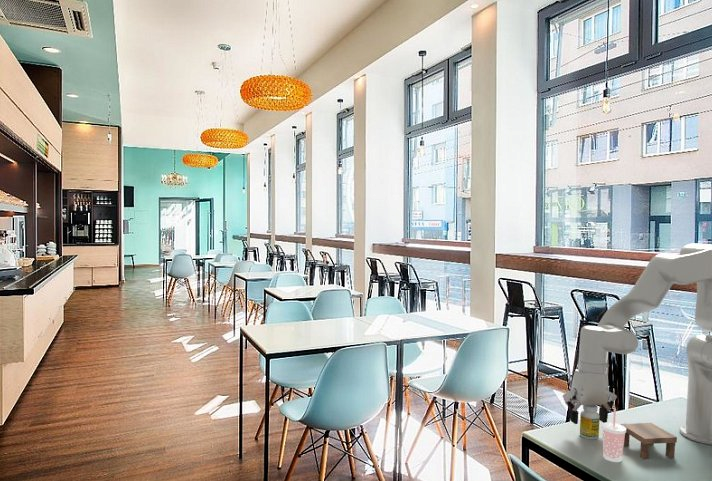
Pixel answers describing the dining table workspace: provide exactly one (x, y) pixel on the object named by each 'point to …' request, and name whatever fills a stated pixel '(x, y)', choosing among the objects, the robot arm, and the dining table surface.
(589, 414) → the supplement bottle
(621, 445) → the beverage cup
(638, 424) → the footstool
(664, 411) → the dining table surface
